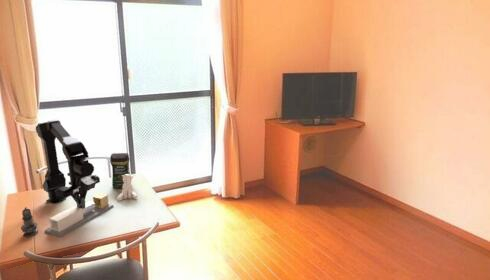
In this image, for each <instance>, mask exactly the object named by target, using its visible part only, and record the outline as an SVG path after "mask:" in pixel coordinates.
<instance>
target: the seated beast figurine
mask: <svg viewBox="0 0 490 280" xmlns="http://www.w3.org/2000/svg"><path fill="white" fill-rule="evenodd" d="M122 176H123V179H122V180H123V182H124V184H123V188H122V190H121V192H120V194H118V196H117V197H116V200H117V201H121V200H126V199H134V200H137V199H138V194H137V193H136V192H135V189H134V188H133V183H132V181H133V179H134V174H132V175H131V173H130V174H125V175H122Z"/></svg>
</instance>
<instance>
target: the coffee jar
mask: <svg viewBox="0 0 490 280" xmlns="http://www.w3.org/2000/svg"><path fill="white" fill-rule="evenodd" d="M109 157H110V159H109V160H110V161H109V163H110V165H111V169H112V178H111V179H112V183H111V184H112V187H113V188H114V189H123V184H124V182H123V180H122V179H123V176H122V175H125V174H130V175H131V172H130V164H129V163H130V160H131V159H130V155H129V153H128V152H121V153H120V152H119V153H118V152H116V153H115V152H113V153H111V155H110V156H109Z"/></svg>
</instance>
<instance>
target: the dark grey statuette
mask: <svg viewBox="0 0 490 280" xmlns="http://www.w3.org/2000/svg"><path fill="white" fill-rule="evenodd" d="M31 211H32V210H31V209H30V208H27V206H25V207H24V209H22V212H21V213H22V214H21V215H22V218H21V219H22V221H23V224H22V225H21V226H20V229H21V230H22V232H23V234H22V236H23V238H31V237H35V236H36V235H38V233H39V231H38V230H37V228H38V223H37V222H36V221H35V222H34V221H33V215H32V212H31Z"/></svg>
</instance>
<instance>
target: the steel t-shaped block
mask: <svg viewBox="0 0 490 280" xmlns="http://www.w3.org/2000/svg"><path fill="white" fill-rule="evenodd" d="M79 198H80V205H78V204H77V203H76V207H79V208H82V210H83V215H85V214H87V213H88V212H90V211H92V210H94V209H95V204H94V202H93V201H88V202H86V198H85V197H83V196H80V195H79Z"/></svg>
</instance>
